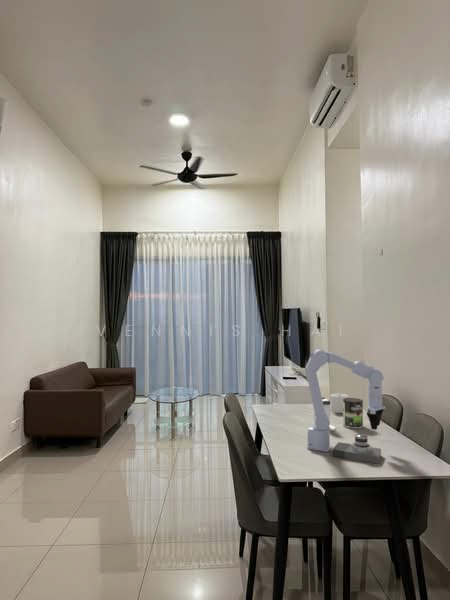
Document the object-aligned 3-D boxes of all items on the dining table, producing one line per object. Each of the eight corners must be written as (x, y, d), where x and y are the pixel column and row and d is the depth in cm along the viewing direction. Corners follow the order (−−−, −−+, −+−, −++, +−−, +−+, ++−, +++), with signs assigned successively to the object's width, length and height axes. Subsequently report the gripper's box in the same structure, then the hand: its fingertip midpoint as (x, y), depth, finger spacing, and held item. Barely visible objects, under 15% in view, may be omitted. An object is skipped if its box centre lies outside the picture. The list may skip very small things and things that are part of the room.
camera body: (332, 456, 178) (332, 444, 179) (338, 449, 188) (338, 437, 188) (377, 464, 170) (377, 451, 170) (381, 455, 180) (381, 443, 180)
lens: (354, 450, 177) (354, 436, 177) (355, 447, 182) (355, 433, 182) (367, 452, 175) (367, 437, 175) (368, 448, 180) (367, 434, 180)
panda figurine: (310, 424, 229) (310, 396, 230) (331, 424, 230) (330, 396, 231) (316, 430, 218) (316, 401, 218) (338, 430, 218) (338, 401, 219)
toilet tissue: (348, 410, 264) (348, 394, 264) (348, 414, 252) (348, 397, 253) (331, 408, 267) (331, 393, 267) (330, 413, 256) (329, 396, 256)
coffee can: (367, 427, 223) (366, 401, 223) (349, 429, 220) (349, 402, 221) (356, 423, 233) (355, 397, 233) (339, 424, 230) (339, 398, 231)
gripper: (382, 400, 178) (382, 432, 178) (386, 394, 191) (387, 424, 191) (365, 398, 182) (365, 430, 181) (370, 392, 195) (370, 422, 194)
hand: (375, 427), depth 186 cm, fingers open, 7 cm apart
